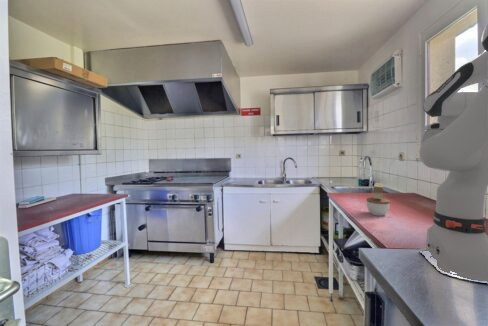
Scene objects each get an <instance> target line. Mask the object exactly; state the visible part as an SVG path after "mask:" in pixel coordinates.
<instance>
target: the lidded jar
mask: <svg viewBox="0 0 488 326" xmlns="http://www.w3.org/2000/svg"><path fill="white" fill-rule="evenodd" d="M390 204H391V200H389V199H387V198H384V197H383V199H376V198H373V196H372V197H371V196H370V197H367V198H366V207H367V210H368V212H369V213H370V214H371V215H373V216H379V217H382V216H385V215H386V214H388V212H389V210H390V207H391V206H390Z"/></svg>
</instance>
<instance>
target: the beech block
mask: <svg viewBox="0 0 488 326" xmlns="http://www.w3.org/2000/svg"><path fill="white" fill-rule="evenodd" d="M383 196H384V183H381V182H380V183H379V182H375V183H374V185H373V196H372V197H373V198H376V199H383V198H384V197H383Z"/></svg>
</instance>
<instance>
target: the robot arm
mask: <svg viewBox="0 0 488 326" xmlns="http://www.w3.org/2000/svg"><path fill="white" fill-rule="evenodd" d="M481 34H482V35H481V41H480V45H481V47H482V49H483V50H484V51H483V52H481V53H480V54H479V55H478V56H476V57H475V58H473V59H472V60H470V61H469V62H466V63H465V64H463V65H461V66H460V67H459V68H457V69H456V70H455V71H454V72H453V73H452V74H451V75H449V77H448V78H446V80H445V81H444V82H442V84H440V85H439V87H438V88H437V89H436V90H434V91H432V92H431V93H430V94H429V95H427V96H426V98H425V100H424V101H423V105H422V107H423V111H424V112H425V114H427V115H428V116H429V117H431V118H435V117H437V120H436V122H432V123H429V124H426V125H424V131H423V132H422V134H421V139H420V148H419V158H420V161H421V163H422V164H423V165H424V166H426V167H427V168H430V169H434V170H439V171H444V172H449V173H448V175H447V177H446V178H445V179H444V181H443V182H442V183H441V184H440V185H439V186H438V187H437V188H436V189H437V190H436V202H435V211H434V212H433V216H432V218H433V224H432V225H431V226H430V227H428V228H427V230H426V237H425V238H426V239H425V247H422V248H419V250H420V251H422V252H423V251H429V252H430V253H431V255H432V256H430V258H431V257H433V258H434V259H436V260H437V266H438V268H439V269H440V268H441V269H440V270H442V271H444V272H447V273H450V271H452V272H455V273H457V274H453V275H457V276H460V277H463V278H467V279H471V280H478V281H487V282H488V235H487V233H485V232H486V230H487V229H486V220H485V218H484V210H485V209H484V208H485V207H484V206H485V197H486V192H487V188H488V24H487V25H486V26H485V27H484V30H483V32H482V33H481ZM480 83H483V84H482V86H481V87H480V89H479V90H471V89H465V88H466V87H469V86H473V85H476V84H480ZM450 274H452V273H450Z"/></svg>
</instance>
